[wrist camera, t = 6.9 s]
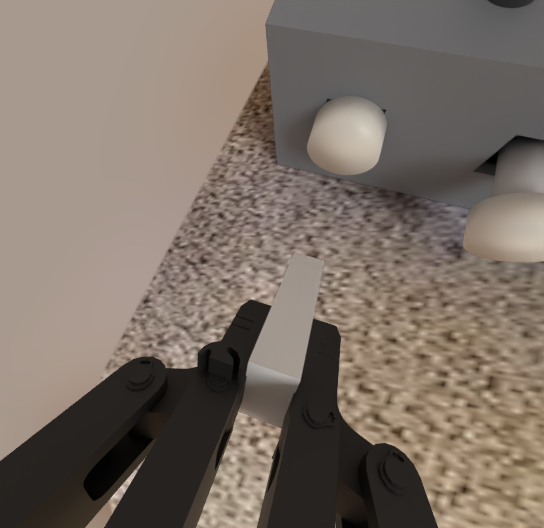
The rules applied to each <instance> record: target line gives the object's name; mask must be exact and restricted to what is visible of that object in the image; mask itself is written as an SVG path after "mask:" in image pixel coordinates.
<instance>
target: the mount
mask: <svg viewBox="0 0 544 528" xmlns="http://www.w3.org/2000/svg"><path fill="white" fill-rule="evenodd" d="M266 37H267V49H268V61H269V73H270V85H271V97H272V109H273V121H274V133H275V145H276V157H277V164H278V165H282V166H287V167H291V168H295V169H300V170H304V171H308V172H313V173H317V174H321V175H326V176H330V177H334V178H339V179H343V180H347V181H352V182H356V183H360V184H365V185H369V186H373V187H378V188H382V189H386V190H391V191H395V192H399V193H404V194H408V195H412V196H417V197H421V198H425V199H430V200H434V201H438V202H443V203H447V204H451V205H456V206H460V207H464V208H469V209H470V208H471V207H472V206H474V205H475V204H477V203H479V202H481V201H483V200H485V199H488V198H492V193H493V186H494V179H495V172H496V165H497V158H498V151H499V149H500V148H501V147H503V146H504V145H505V144H506V143H507V142H509V141H510V140H512V139H514V138H517V137H520V136H525V137H530V138H535V139H540V140H544V0H535V1H533V2H532V3H530V4H529V5H526V6H523V7H519V8H504V7H500V6H497V5H494V4H492V3H490V2H489V1H487V0H275V1H274V3H273V6H272V9H271V11H270V13H269V16H268V19H267V21H266ZM341 96H358V97H362V98H365V99H368V100H370V101H372V102H374V103H375V104H376V105H378V106H379V107H380V108H381V110H382V111H383V112H384V114H385V116H386V120H387V128H386V133H385V137H384V141H383V145H382V149H381V153H380V157H379V160H378V162H377V163H376V165H375V166H374V167H373V168H371V169H370V170H368V171H366V172H364V173H361V174H356V175H340V174H335V173H332V172H329V171H326V170H324V169H322V168H321V167H319V166H318V165H316V164H315V163H314V162H313V161H312V159H311V158H310V156H309V154H308V151H307V144H308V140H309V137H310V134H311V131H312V127H313V124H314V121H315V118H316V115H317V112H318V111H319V109H320V108H321V107H322V106H323V105H324V104H325V103H326V102H328V101H330V100H332V99H334V98H337V97H341Z"/></svg>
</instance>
